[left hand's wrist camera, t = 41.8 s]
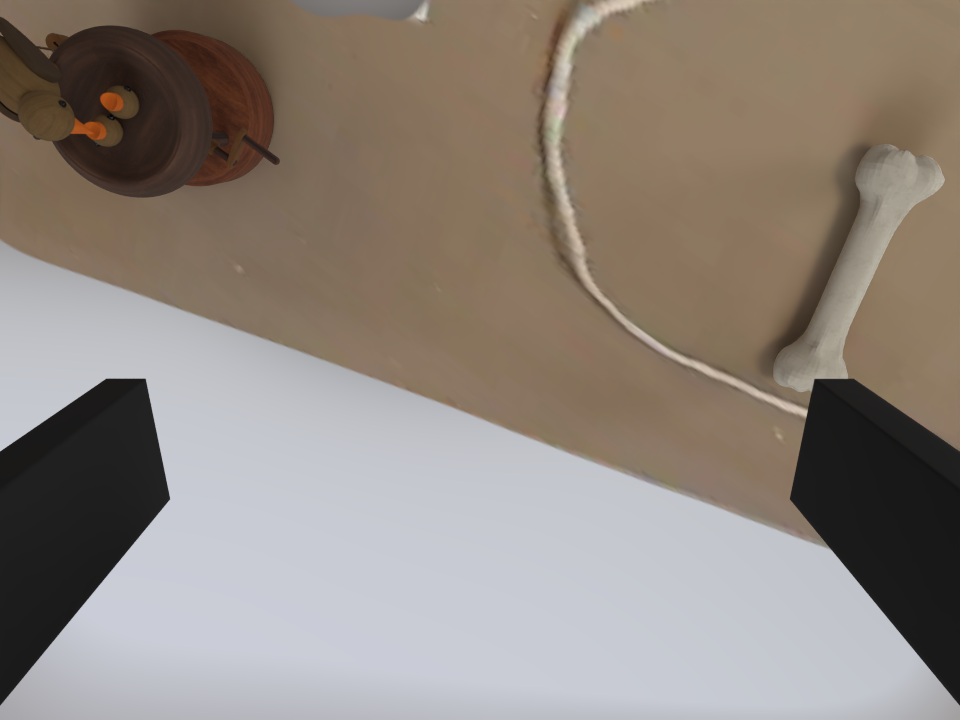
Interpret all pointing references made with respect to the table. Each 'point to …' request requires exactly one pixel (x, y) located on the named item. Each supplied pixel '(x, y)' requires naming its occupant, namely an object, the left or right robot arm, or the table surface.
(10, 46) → the brown wooden figurine
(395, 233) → the table surface
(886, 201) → the dog toy
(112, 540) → the left robot arm
